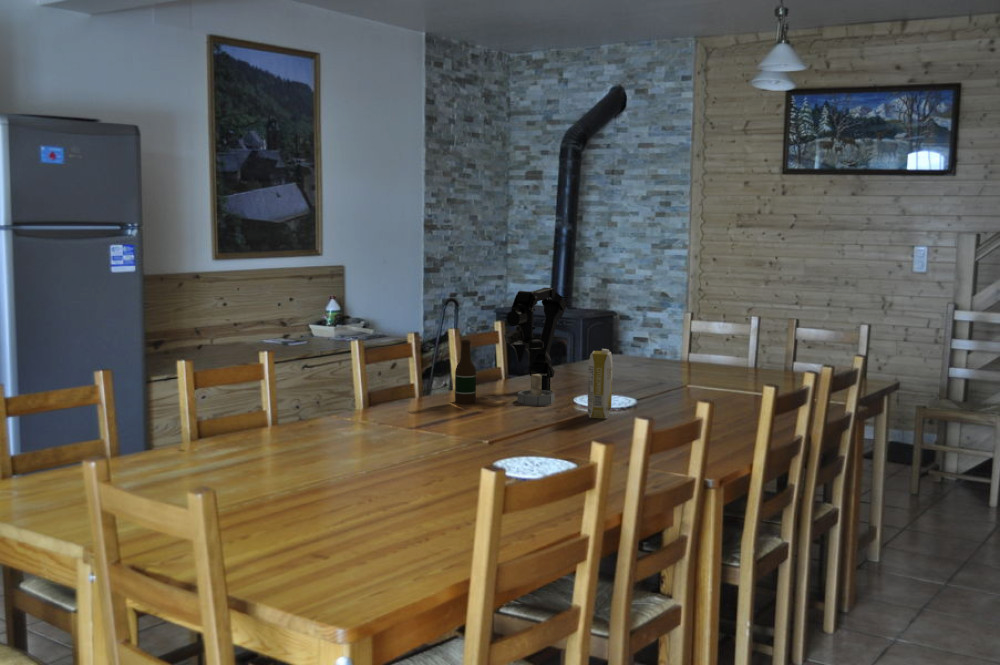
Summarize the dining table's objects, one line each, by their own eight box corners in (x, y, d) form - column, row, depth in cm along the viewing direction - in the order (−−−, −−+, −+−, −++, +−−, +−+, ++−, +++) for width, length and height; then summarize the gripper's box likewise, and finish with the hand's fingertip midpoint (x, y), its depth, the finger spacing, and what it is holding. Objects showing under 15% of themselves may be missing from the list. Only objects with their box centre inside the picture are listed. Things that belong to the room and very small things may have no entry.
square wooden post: (537, 400, 372) (538, 374, 371) (541, 401, 369) (541, 375, 368) (530, 400, 371) (530, 374, 370) (534, 402, 368) (534, 375, 367)
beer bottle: (476, 402, 371) (477, 338, 368) (474, 406, 363) (475, 341, 360) (456, 401, 371) (457, 338, 368) (453, 405, 364) (454, 340, 361)
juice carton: (609, 419, 342) (611, 351, 339) (586, 418, 344) (588, 350, 341) (611, 414, 351) (613, 347, 349) (589, 413, 353) (591, 346, 350)
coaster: (503, 396, 382) (503, 395, 382) (513, 400, 374) (513, 399, 374) (482, 398, 378) (482, 396, 378) (492, 402, 370) (492, 401, 370)
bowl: (542, 399, 379) (542, 388, 378) (559, 405, 367) (559, 394, 367) (512, 401, 373) (512, 391, 373) (528, 407, 362) (529, 397, 361)
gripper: (496, 322, 384) (495, 361, 386) (518, 327, 367) (517, 368, 369) (521, 321, 389) (520, 360, 391) (544, 326, 372) (543, 367, 374)
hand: (525, 363), depth 381 cm, fingers open, 9 cm apart
